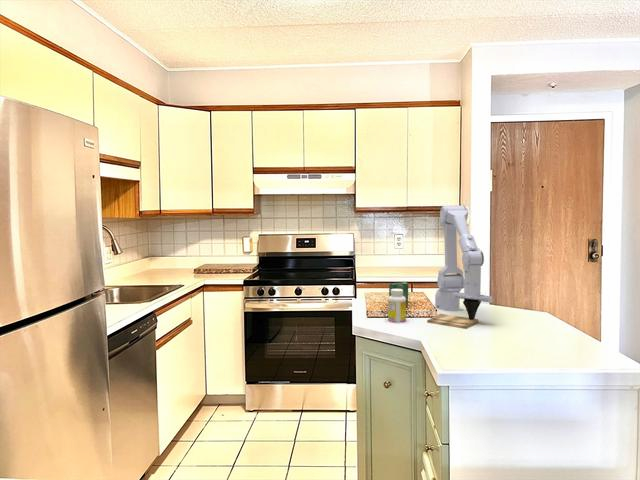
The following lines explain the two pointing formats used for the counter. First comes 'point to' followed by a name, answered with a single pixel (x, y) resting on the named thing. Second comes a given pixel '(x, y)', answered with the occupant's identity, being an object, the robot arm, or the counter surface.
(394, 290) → the supplement bottle
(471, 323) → the plank
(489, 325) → the counter surface
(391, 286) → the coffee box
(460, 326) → the strip
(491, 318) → the counter surface
